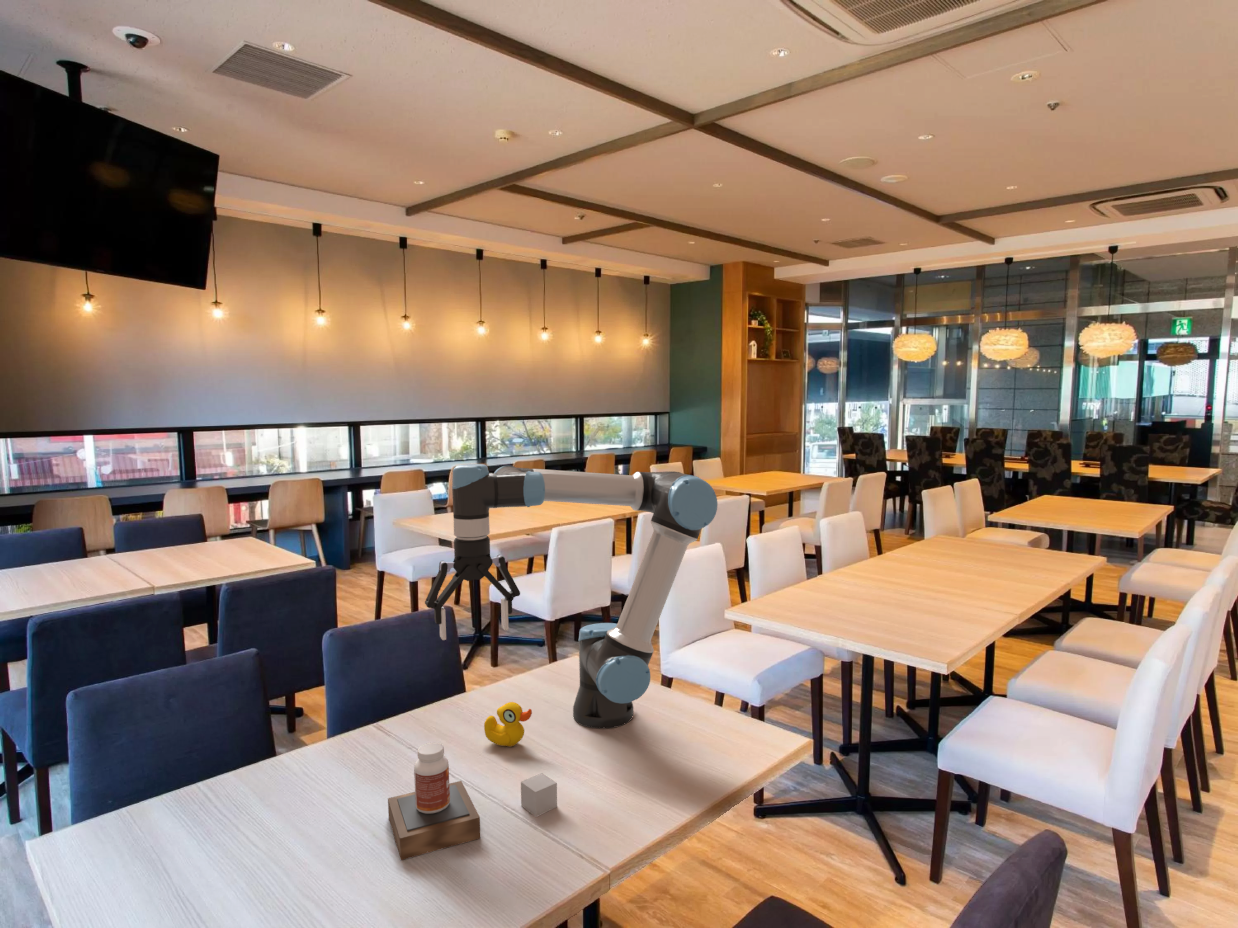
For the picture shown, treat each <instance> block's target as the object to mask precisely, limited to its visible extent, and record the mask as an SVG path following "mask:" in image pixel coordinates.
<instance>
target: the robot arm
mask: <svg viewBox="0 0 1238 928" xmlns="http://www.w3.org/2000/svg"><path fill="white" fill-rule="evenodd" d="M451 481H452V482H451V483H452V484H451V485H452V486H451V488H452V489H451V490H452V491H451V492H452V510H453V511H452V514H453V536H455V538H454V539H453V546H454V547H453V550H454V552H453V553H454V558H453V561H445V560H440V561H439V565H438V572H437V573H436V577H435V579H434V580H433V583H432V585H431V587H430V590H429V592H428V594H427V596H426V599H425V601H424V604H425V606H426V607H427V608H428V609H433V612H434V613H433V614H434V615H433V616H434V619H433V620H434V622H435V624H436V625H439V638H440V639H441V640H442V641H445V640H446V641H447V628H446V627H447V622H446V620H447V619H446V609H445V607H444V606H445V604H446V602H447V601H448V600H449V599H450V597H451V596H452V595H453V593H454V592H455V591H456V589H457V588H458V587H459V585H461V583H462V582H463V581H464V580H465V581H467V582H470V581H473V580H476V581H478V580H479V581H481V580H482V579H483V578H486V579H487V580H488V582H489V583H491V584H492V585H493V587H494V588H495V589H496V590H498V592H499V593H500V594H501V595H502V596H503V597H501V598H500V613H501V614H500V615H501V616H500V617H501V619H500V620H501V628H502V629H503V630H504V631H509V615H511V614H512V612H513V601H514V599H515V598H516V597H520V596H521V591H520V590H519V588H518V586H517V583H516V582H515V581H514V579H513V576H512V575H511V573H510V571H509V569H508V567H507V564H506V558H505V557H504V556H503V555H501V554H498V555H496V556H495V557H494V556H493V557H492V556H491V539H490V537H489V536H488V535H490V532H491V530H490V509H497V508H521V507H525V508H526V507H527V508H530V507H536V506H541V505H543V503H544V502H557V503H569V504H570V503H573V504H588V505H607V506H620V507H621V506H623V507H631V509H632V510H633V511H636V512H638V511H639V512H647V513H650V514H652V517H651V519H650V524H651V527H652V529H653V532H652V535H651V538H650V540H649V542H648V544H647V547H646V549H645V550H646V551H645V552H644V555H643V558H642V560H641V562H640V564H639V568H638V570H637V573H636V575H635V577H634V580H633V583H632V585H631V588H630V591H629V593H628V596H627V598H626V601H625V603H624V606H623V607H622V608H623V609H622V611H621V614H620V616H619V618H618V622H617V623H613V622H600V623H599V622H598V623H593V624H587V625H585V626H582V627H581V628H580V629H579V632H578V633H579V634H578V640H577V641H578V656H579V657H578V658H579V659H578V662H579V663H578V664H579V665H578V669H579V687H578V691H577V694H576V697H575V700H574V704H573V706H572V716H573V717H574V718H573V717H572V718H573V719H574V721H575V722H576V723H578V724H579V725H581V726H583V727H587V728H592V729H612V728H617V726H618V727H621V726H624V725H625V724H624V723H626V724H627V722H628V721H629V720H630V719H631V718H632V716H633V717H634V704H633V702H634V701H635V700H636V701H637V700H638V699H640V698H642V696H643V695H644V694H645V693H646V692H647V690H648V689H649V686H650V683H651V671H650V668H649V664H650V663H651V662H650V661H651V659H652V657H653V654H654V651H655V649H654V647H653V643H652V639H653V636H654V632H655V630H656V628H657V625H658V623H659V620H660V618H661V616H662V614H663V613H662V612H663V610H664V607H665V605H666V602H667V600H668V597H669V596H670V592H671V590H672V587H673V584H674V582H675V580H676V577H677V574H678V572H679V569H680V567H681V563H682V562H683V559H684V556H685V554H686V552H687V551H686V550H687V549H688V546H689V545H690V544H692V543H693V542H696V541H697V540H698V539H699V536H700V534H701V532H702V529H703V528H705V527H707V526H709V525H710V524H711V523H712V522H713V521H714V519H715V517H716V514H717V511H718V505H719V503H718V497H717V494H716V492H715V489H714V488H713V487H712V486H711V484H710V483H709V482H707V481H705V480H704V479H703V478H700V477H699V476H696V475H692V474H687V473H682V472H679V471H673V470H672V471H649V472H648V471H636V472H634V473H633V474H632V475H630V474H629V475H628V474H618V473H617V474H615V473H614V474H613V473H603V472H601V473H600V472H586V471H571V470H556V469H543V468H528V467H526V468H525V467H515V466H513V465H503V466H501V467H499V468H497V469H496V470H495V471H494V472H490V471H489V467H488V465H486V464H483V463H465V464H458V465H455V467H454V468H453V469H452V479H451ZM492 565H495V567H497V568H498V569H499V571H500V573H501V575H502V578H503V579H504V580H505V583H506V584H507V586H508V588H509V590H510V591H508V590H507V589H506V588H505V586H503V585H502V584H501V583H500V582H499V580H497V578H496V577H495V576H494V575H493V574H492V573H491V572H490V571H489V570H490V568H491V567H492ZM452 569H454V570H455V573H454V574H453V576H452V578H451V579H450V581H449V582H448V584H447V585H446V586H445V588H443V587H442V586H443V584H444V582H445V580H446V578H447V574H448V573H450V572H451V570H452ZM441 588H443V590H442V592H441V593H440V591H441ZM439 593H440V594H439ZM438 594H439V595H438ZM632 719H633V718H632ZM632 719H631V720H632ZM631 720H630V721H631ZM630 721H629V722H630ZM629 722H628V723H629ZM623 724H624V725H623Z"/></svg>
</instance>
